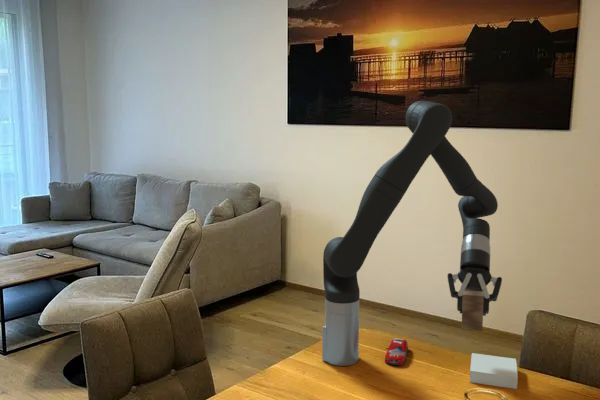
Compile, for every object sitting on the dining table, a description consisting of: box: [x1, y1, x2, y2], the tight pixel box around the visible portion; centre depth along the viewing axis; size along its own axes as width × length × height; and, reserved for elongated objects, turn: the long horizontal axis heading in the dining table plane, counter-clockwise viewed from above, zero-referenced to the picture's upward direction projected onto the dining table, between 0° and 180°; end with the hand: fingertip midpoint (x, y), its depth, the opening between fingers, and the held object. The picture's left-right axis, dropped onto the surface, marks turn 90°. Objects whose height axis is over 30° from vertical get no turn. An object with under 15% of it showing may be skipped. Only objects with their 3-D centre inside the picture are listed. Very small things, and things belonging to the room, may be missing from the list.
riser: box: [469, 352, 519, 390], centre depth 141 cm, size 11×11×3 cm
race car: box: [384, 338, 409, 366], centre depth 152 cm, size 13×5×4 cm, turn 161°
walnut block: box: [461, 289, 484, 332], centre depth 141 cm, size 5×5×9 cm
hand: (472, 312), depth 139 cm, fingers closed on walnut block, 5 cm apart
